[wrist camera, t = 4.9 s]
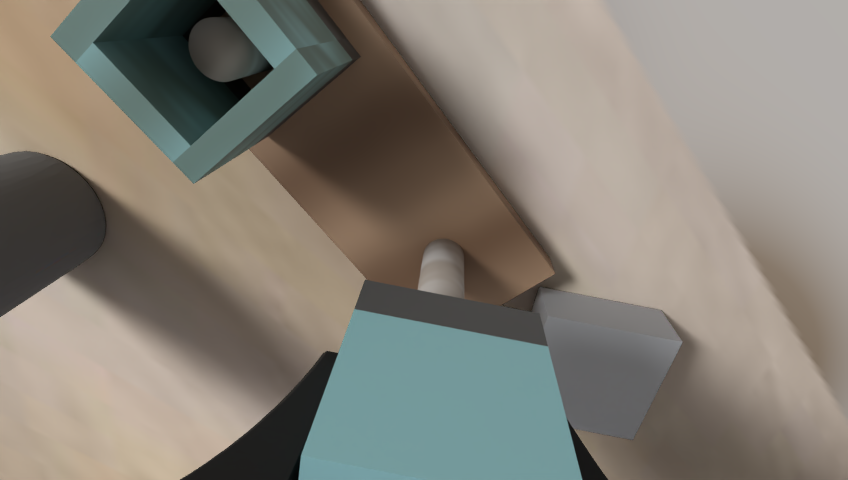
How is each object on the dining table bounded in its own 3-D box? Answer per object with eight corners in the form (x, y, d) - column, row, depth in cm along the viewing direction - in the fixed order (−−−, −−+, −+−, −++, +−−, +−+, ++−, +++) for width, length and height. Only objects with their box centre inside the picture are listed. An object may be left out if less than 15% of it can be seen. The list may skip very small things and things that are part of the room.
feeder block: (617, 402, 26) (632, 439, 24) (507, 381, 26) (512, 417, 24) (661, 310, 23) (682, 342, 21) (539, 286, 23) (547, 315, 21)
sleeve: (496, 439, 16) (514, 661, 10) (345, 410, 16) (284, 619, 10) (539, 313, 14) (590, 510, 8) (365, 279, 14) (301, 455, 8)
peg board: (549, 258, 23) (587, 362, 16) (430, 329, 25) (418, 447, 18) (280, -108, 17) (164, -186, 11) (158, 23, 19) (-3, 29, 13)
